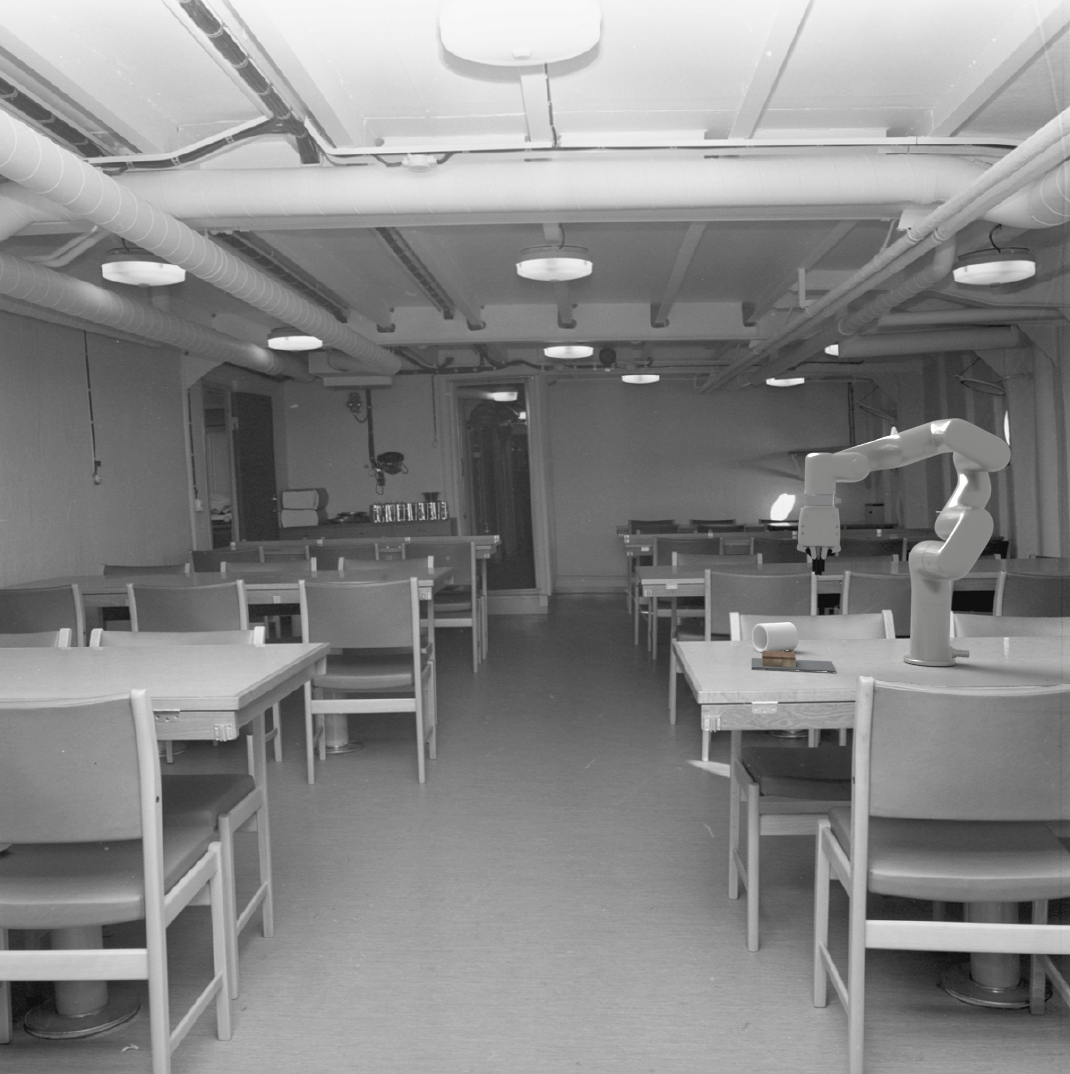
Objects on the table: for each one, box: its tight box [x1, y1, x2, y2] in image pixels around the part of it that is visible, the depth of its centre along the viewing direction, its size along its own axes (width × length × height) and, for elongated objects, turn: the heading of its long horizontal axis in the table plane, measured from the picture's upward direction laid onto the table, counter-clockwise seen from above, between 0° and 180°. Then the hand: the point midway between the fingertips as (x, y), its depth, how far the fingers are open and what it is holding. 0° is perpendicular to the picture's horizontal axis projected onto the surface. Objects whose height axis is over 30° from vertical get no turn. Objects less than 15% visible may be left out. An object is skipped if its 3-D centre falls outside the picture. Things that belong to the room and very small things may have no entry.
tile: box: [761, 651, 797, 667], centre depth 251 cm, size 2×9×8 cm
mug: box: [751, 621, 799, 653], centre depth 276 cm, size 12×10×8 cm
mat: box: [751, 657, 837, 673], centre depth 251 cm, size 20×14×1 cm
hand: (818, 574), depth 251 cm, fingers closed
